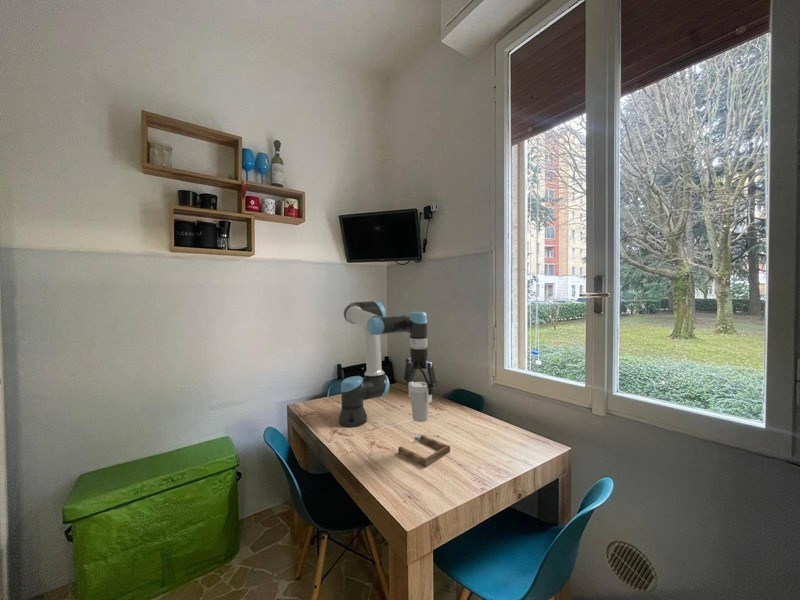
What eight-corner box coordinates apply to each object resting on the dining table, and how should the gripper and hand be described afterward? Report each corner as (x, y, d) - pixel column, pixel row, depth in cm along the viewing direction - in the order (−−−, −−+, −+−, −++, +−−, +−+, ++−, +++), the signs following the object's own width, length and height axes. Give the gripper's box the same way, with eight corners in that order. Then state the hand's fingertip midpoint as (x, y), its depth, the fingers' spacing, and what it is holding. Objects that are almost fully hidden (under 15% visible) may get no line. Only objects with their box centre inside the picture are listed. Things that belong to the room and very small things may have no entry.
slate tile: (415, 439, 143) (415, 436, 143) (418, 435, 147) (418, 433, 147) (422, 440, 141) (422, 438, 141) (426, 437, 145) (426, 435, 145)
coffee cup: (430, 424, 126) (429, 388, 126) (407, 422, 128) (406, 387, 128) (432, 415, 135) (431, 381, 135) (411, 414, 137) (410, 381, 137)
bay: (398, 453, 130) (398, 447, 130) (422, 440, 142) (422, 434, 142) (426, 467, 120) (426, 461, 120) (450, 451, 131) (450, 446, 131)
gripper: (394, 346, 136) (395, 395, 137) (433, 351, 121) (434, 408, 121) (406, 344, 142) (407, 391, 142) (444, 349, 126) (446, 402, 126)
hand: (420, 399), depth 132 cm, fingers closed on coffee cup, 9 cm apart
